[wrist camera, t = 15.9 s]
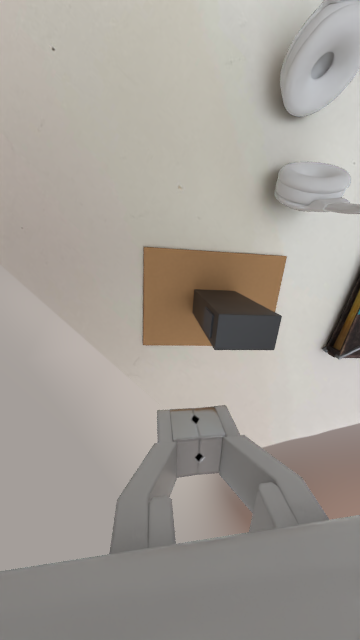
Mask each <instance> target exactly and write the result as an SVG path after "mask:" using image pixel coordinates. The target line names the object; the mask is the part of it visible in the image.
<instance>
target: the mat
mask: <svg viewBox="0 0 360 640" xmlns="http://www.w3.org/2000/svg"><path fill="white" fill-rule="evenodd" d="M286 258H287V256H274V255H259V254H244V253H229V252H213V251H198V250H183V249H167V248H152V247H144V299H143V345H195V346H212V345H211V343H210V341H209V340H208V338H207V336H206V335H205V333H204V331H203V330H202V328H201V326H200V325H199V323H198V321H197V320H196V318H195V316H194V315H193V313H192V311H193V299H194V289H203V290H227V291H236V292H238V293H240V294H242V295H243V296H245V297H247V298H249V299H251V300H253V301H255V302H257V303H258V304H260V305H262V306H264V307H266V308H268V309H270V310H271V311H273V312H275V309H276V305H277V300H278V295H279V291H280V286H281V281H282V276H283V272H284V267H285V262H286Z"/></svg>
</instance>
